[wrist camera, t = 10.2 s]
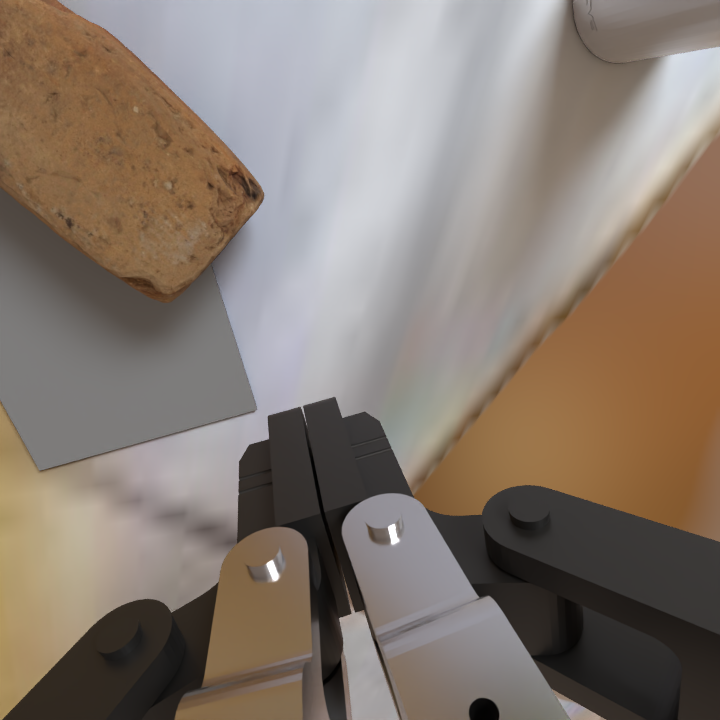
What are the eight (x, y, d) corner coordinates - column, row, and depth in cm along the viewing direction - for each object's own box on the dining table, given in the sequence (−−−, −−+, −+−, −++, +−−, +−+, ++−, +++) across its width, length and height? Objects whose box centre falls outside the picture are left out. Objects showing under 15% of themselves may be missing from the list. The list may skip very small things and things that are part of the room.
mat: (169, 135, 37) (169, 135, 36) (256, 407, 46) (257, 409, 45) (-110, 194, 34) (-115, 195, 34) (41, 467, 44) (39, 470, 43)
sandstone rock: (154, 325, 32) (-189, 48, 25) (172, 300, 39) (-94, 77, 32) (276, 194, 31) (-46, -131, 24) (272, 192, 38) (21, -61, 31)
